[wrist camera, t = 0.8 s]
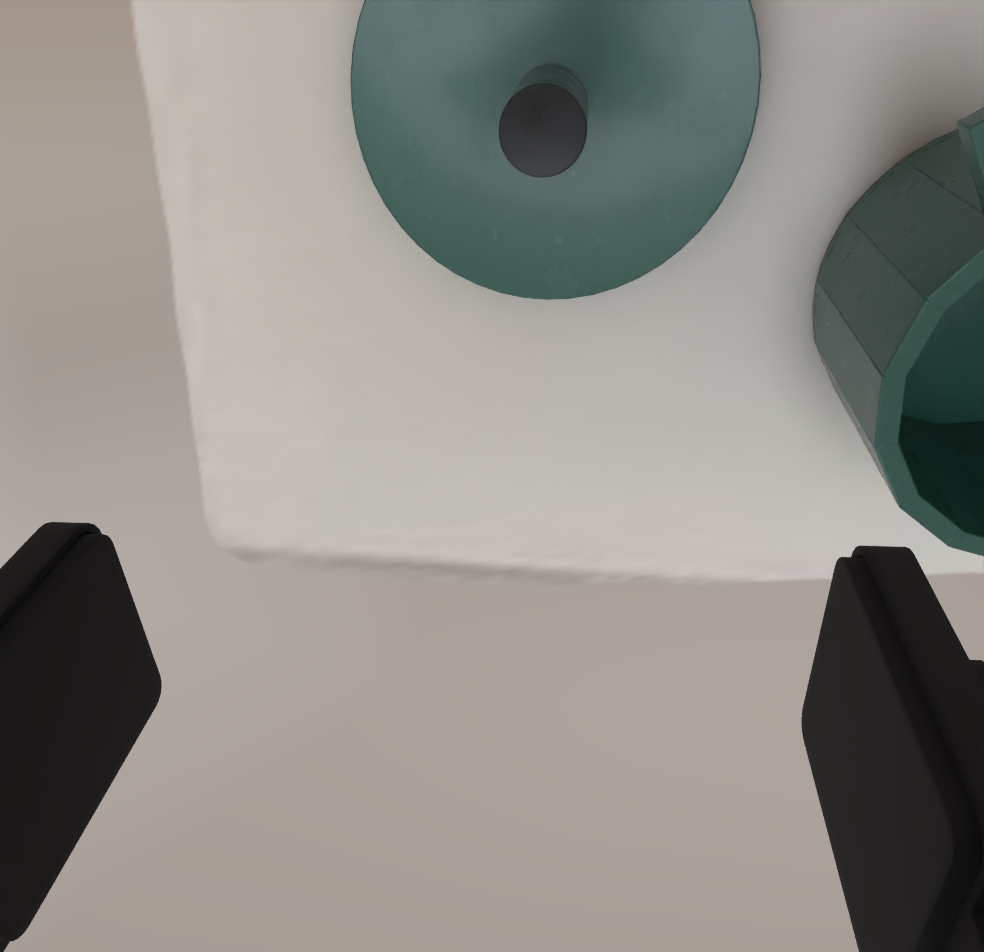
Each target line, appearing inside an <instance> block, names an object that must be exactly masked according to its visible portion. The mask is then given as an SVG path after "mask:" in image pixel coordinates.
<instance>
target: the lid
mask: <svg viewBox="0 0 984 952" xmlns="http://www.w3.org/2000/svg"><path fill="white" fill-rule="evenodd" d="M760 78H761V69H760V45H759V39H758V33H757V27H756V21H755V15H754V12H753V8H752V5H751V2H750V0H365V1H364V4H363V7H362V10H361V13H360V16H359V20H358V25H357V30H356V35H355V40H354V45H353V53H352V66H351V99H352V110H353V116H354V123H355V129H356V134H357V138H358V141H359V145H360V149H361V152H362V156H363V159H364V162H365V164H366V166H367V169H368V171H369V174H370V176H371V179H372V181H373V184H374V185H375V187H376V189H377V191H378V193H379V194H380V196H381V198H382V200H383V202H384V203H385V205H386V207H387V208H388V210H389V211H390V212H391V214H392V215H393V217H394V218H395V219H396V221H397V222H398V223H399V225H400V226H401V228H402V229H403V230H404V231H405V232H406V233H407V234H408V235H409V236H410V237H411V238H412V239H413V241H414V242H415V243H416V244H417V245H418V246H419V247H420V248H422V249H423V250H424V251H425V252H426V253H428V254H429V255H430V256H431V257H432V258H433V259H435V260H436V261H437V262H439V263H440V264H442V265H443V266H445V267H446V268H448V269H449V270H451V271H452V272H454V273H455V274H457V275H459V276H461V277H463V278H465V279H467V280H469V281H471V282H473V283H475V284H477V285H480V286H482V287H485V288H488V289H491V290H494V291H497V292H500V293H504V294H509V295H513V296H518V297H523V298H534V299H546V300H547V299H570V298H576V297H582V296H588V295H594V294H597V293H600V292H604V291H607V290H611V289H614V288H617V287H619V286H622V285H624V284H626V283H628V282H631V281H633V280H635V279H638V278H640V277H641V276H643V275H645V274H646V273H648V272H650V271H651V270H653V269H655V268H656V267H658V266H660V265H661V264H663V263H664V262H665V261H667V260H668V259H669V258H670V257H672V256H673V255H674V254H676V253H677V252H678V251H680V250H681V249H682V248H683V247H684V246H685V245H686V244H687V243H688V242H689V241H690V240H691V239H692V238H693V237H694V236H695V235H696V234H697V233H698V232H699V231H700V230H701V229H702V228H703V226H704V225H705V224H706V223H707V221H708V220H709V219H710V218H711V216H712V215H713V214H714V213H715V211H716V210H717V209H718V207H719V205H720V204H721V202H722V201H723V199H724V197H725V196H726V194H727V193H728V191H729V189H730V188H731V186H732V184H733V182H734V180H735V177H736V175H737V173H738V171H739V169H740V167H741V165H742V163H743V160H744V157H745V154H746V151H747V148H748V145H749V142H750V139H751V136H752V133H753V128H754V123H755V119H756V114H757V109H758V103H759V90H760Z"/></svg>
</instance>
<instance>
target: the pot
mask: <svg viewBox="0 0 984 952" xmlns="http://www.w3.org/2000/svg"><path fill="white" fill-rule="evenodd" d="M957 128H958V130H956V131H953V132H951V133H949V134H946V135H944V136H942V137H940V138H937V139H936V140H934V141H932V142H930V143H929V144H927V145H925V146H923V147H922V148H920V149H918V150H916V151H915V152H913V153H912V154H910V155H909V156H908V157H906V158H905V159H903V160H902V161H901V162H899V163H898V164H896V165H895V166H894V167H892V168H891V169H890V170H889V171H888V172H887V173H886V174H884V175H883V176H882V177H881V178H880V179H879V180H878V181H877V182H876V183H874V184H873V185H872V186H871V187H870V188H869V190H868V191H867V192H866V193H865V194H864V195H863V196H862V197H861V198H860V200H859V201H858V202H857V203H856V204H855V205H854V207H853V208H852V210H851V211H850V212H849V214H848V215H847V216H846V218H845V219H844V221H843V222H842V223H841V225H840V227H839V229H838V230H837V232H836V234H835V236H834V237H833V239H832V241H831V243H830V245H829V247H828V249H827V252H826V254H825V257H824V259H823V262H822V264H821V267H820V271H819V274H818V278H817V282H816V286H815V293H814V300H813V328H814V340H815V344H816V346H817V349H818V351H819V354H820V357H821V360H822V362H823V364H824V366H825V368H826V370H827V372H828V375H829V377H830V379H831V382H832V384H833V386H834V389H835V390H836V392H837V394H838V396H839V398H840V400H841V401H842V403H843V405H844V407H845V409H846V411H847V413H848V414H849V416H850V418H851V420H852V422H853V424H854V425H855V427H856V429H857V431H858V433H859V435H860V436H861V438H862V440H863V442H864V444H865V446H866V447H867V449H868V451H869V453H870V455H871V457H872V458H873V460H874V462H875V464H876V466H877V468H878V469H879V471H880V473H881V475H882V477H883V479H884V480H885V482H886V484H887V486H888V488H889V490H890V491H891V493H892V495H893V497H894V499H895V501H896V502H897V504H898V505H899V507H900V508H901V509H902V510H903V511H905V512H906V513H907V514H908V515H910V516H911V517H912V518H913V519H915V520H916V521H917V522H919V523H920V524H921V525H922V526H924V527H925V528H926V529H927V530H929V531H930V532H931V533H932V534H934V535H935V536H936V537H937V538H939V539H940V540H941V541H942V542H944V543H945V544H946V545H947V546H949V547H952V548H956V549H959V550H963V551H967V552H970V553H974V554H978V555H981V556H984V108H982V109H980V110H978V111H976V112H974V113H972V114H970V115H968V116H966V117H964V118H962V119H960V120H959V121H958V122H957Z"/></svg>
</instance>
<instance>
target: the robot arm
mask: <svg viewBox="0 0 984 952" xmlns="http://www.w3.org/2000/svg"><path fill="white" fill-rule="evenodd" d="M160 694H161V677H160V674H159V671H158V668H157V665H156V663H155V660H154V657H153V654H152V651H151V648H150V646H149V643H148V640H147V637H146V635H145V632H144V629H143V626H142V623H141V620H140V618H139V615H138V612H137V609H136V607H135V603H134V601H133V598H132V595H131V593H130V590H129V587H128V584H127V581H126V578H125V576H124V573H123V570H122V567H121V564H120V561H119V558H118V556H117V553H116V550H115V547H114V544H113V542H112V540H111V539H110V538H109V537H108V536H107V535H103V534H101V532H100V529H98V528H97V527H96V526H95V525H94V524H90V523H65V522H50V523H46V524H44V525H43V526H41V527H40V528H39V529H38V530H37V531H36V532H35V533H34V534H33V535H32V536H31V537H30V538H29V539H28V540H27V542H25V543H24V545H23V546H22V547H21V548H20V549H19V550H18V551H17V552H16V553H15V554H14V555H13V556H12V557H11V558H10V559H9V560H8V561H7V562H6V564H5V565H4V566H2V568H1V569H0V952H4V950H5V948H6V947H7V945H8V943H9V942H10V941H14V940H16V939H18V938H19V937H20V936H21V935H22V934H23V933H24V932H25V931H26V929H27V928H28V926H29V925H30V923H31V921H32V919H33V918H34V916H35V914H36V913H37V911H38V909H39V908H40V905H41V904H42V902H43V901H44V899H45V897H46V895H47V894H48V892H49V890H50V889H51V887H52V885H53V883H54V882H55V880H56V878H57V877H58V875H59V873H60V871H61V870H62V868H63V866H64V864H65V863H66V861H67V859H68V857H69V856H70V854H71V852H72V851H73V849H74V847H75V845H76V844H77V842H78V840H79V838H80V837H81V835H82V833H83V832H84V830H85V828H86V826H87V825H88V823H89V821H90V820H91V818H92V816H93V814H94V813H95V811H96V809H97V807H98V806H99V804H100V802H101V800H102V799H103V797H104V795H105V793H106V792H107V790H108V788H109V787H110V785H111V783H112V781H113V780H114V778H115V776H116V775H117V773H118V771H119V769H120V767H121V766H122V764H123V762H124V761H125V759H126V757H127V756H128V754H129V752H130V750H131V749H132V747H133V745H134V744H135V742H136V740H137V738H138V737H139V735H140V733H141V731H142V730H143V728H144V726H145V724H146V723H147V721H148V719H149V718H150V716H151V714H152V712H153V711H154V709H155V707H156V705H157V703H158V701H159V697H160ZM802 733H803V739H804V743H805V747H806V751H807V754H808V759H809V762H810V766H811V770H812V774H813V778H814V781H815V785H816V789H817V793H818V796H819V800H820V804H821V808H822V812H823V816H824V820H825V823H826V827H827V831H828V835H829V839H830V842H831V846H832V850H833V854H834V858H835V862H836V865H837V869H838V873H839V877H840V881H841V884H842V888H843V892H844V896H845V900H846V904H847V907H848V911H849V915H850V919H851V923H852V926H853V930H854V934H855V938H856V941H857V945H858V949H859V952H984V662H983V661H981V660H969V658H968V656H967V654H966V652H965V651H964V649H963V647H962V645H961V643H960V641H959V639H958V637H957V635H956V633H955V632H954V630H953V628H952V626H951V624H950V622H949V620H948V618H947V616H946V614H945V613H944V611H943V609H942V607H941V605H940V603H939V601H938V599H937V597H936V595H935V593H934V591H933V590H932V588H931V586H930V584H929V582H928V580H927V578H926V576H925V574H924V572H923V570H922V569H921V567H920V565H919V563H918V561H917V559H916V557H915V555H914V554H913V552H912V551H911V550H910V549H909V548H907V547H886V546H858V547H856V548H855V550H854V551H853V553H852V556H851V557H840V558H839V559H838V560H837V562H836V565H835V569H834V573H833V578H832V582H831V586H830V591H829V595H828V600H827V604H826V609H825V613H824V617H823V622H822V626H821V630H820V635H819V640H818V644H817V648H816V652H815V657H814V661H813V666H812V670H811V674H810V679H809V683H808V688H807V692H806V696H805V701H804V705H803V711H802Z"/></svg>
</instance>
